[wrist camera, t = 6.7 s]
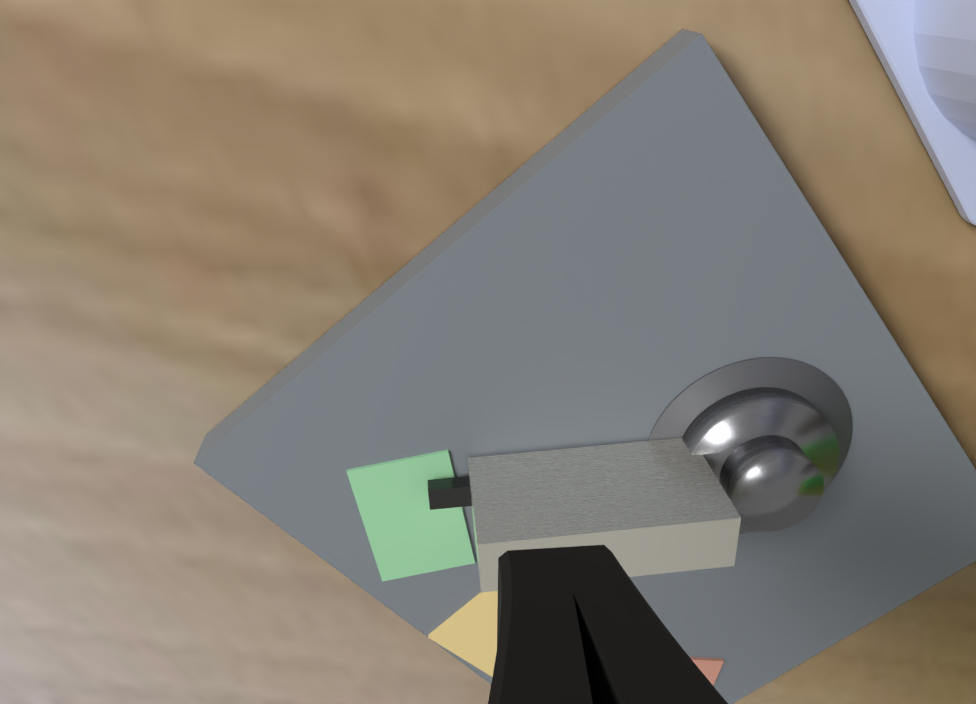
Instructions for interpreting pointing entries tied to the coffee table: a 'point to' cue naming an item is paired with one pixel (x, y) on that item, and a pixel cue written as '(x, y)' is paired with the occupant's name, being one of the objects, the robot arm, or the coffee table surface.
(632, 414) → the tuner board
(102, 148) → the coffee table surface
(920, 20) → the robot arm
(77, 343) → the coffee table surface
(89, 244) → the coffee table surface
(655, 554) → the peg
